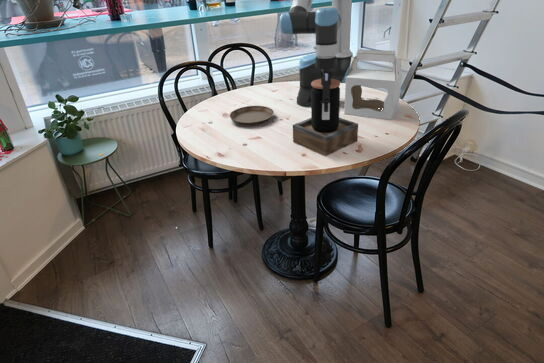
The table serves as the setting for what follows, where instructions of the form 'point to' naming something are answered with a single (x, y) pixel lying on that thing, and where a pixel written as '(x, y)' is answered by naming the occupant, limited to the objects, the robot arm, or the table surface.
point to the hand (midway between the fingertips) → (325, 112)
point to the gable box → (373, 85)
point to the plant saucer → (252, 115)
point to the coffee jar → (316, 106)
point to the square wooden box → (325, 136)
